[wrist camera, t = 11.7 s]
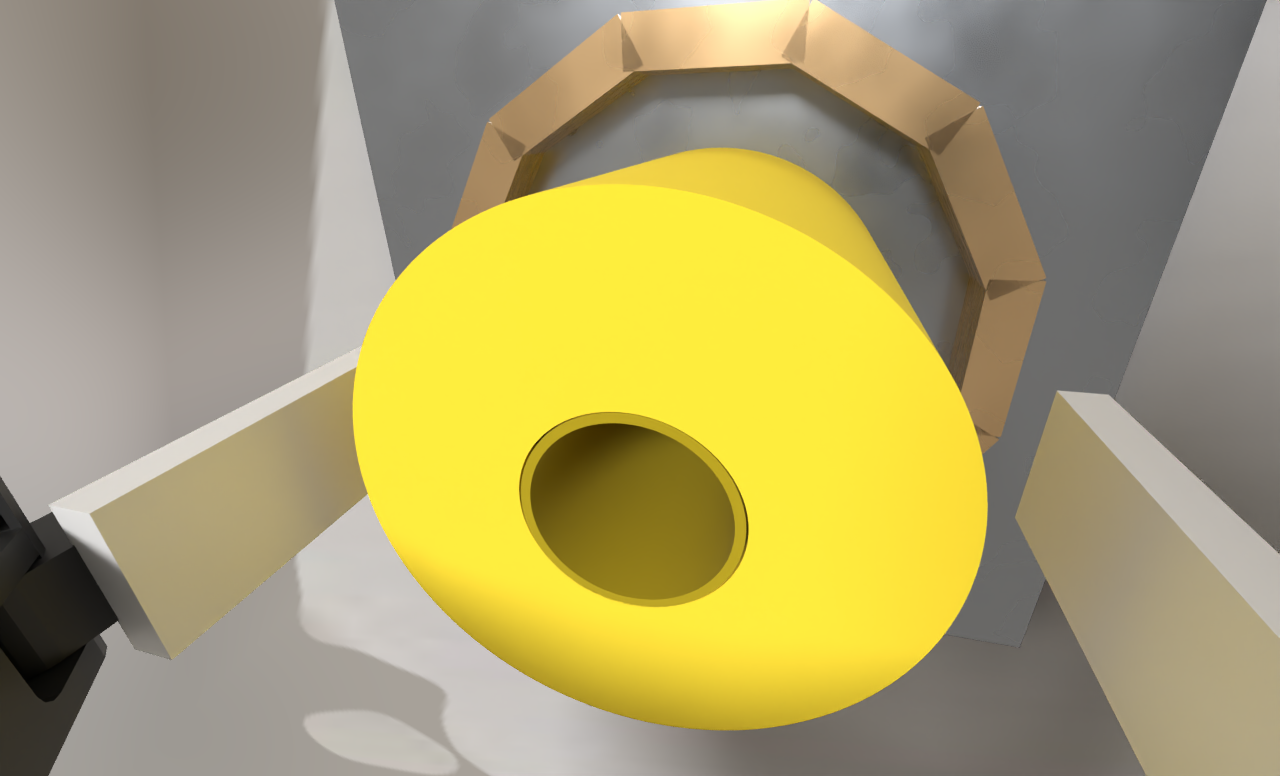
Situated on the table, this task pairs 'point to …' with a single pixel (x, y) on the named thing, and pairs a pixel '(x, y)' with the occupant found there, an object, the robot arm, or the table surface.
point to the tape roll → (675, 444)
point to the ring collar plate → (852, 161)
